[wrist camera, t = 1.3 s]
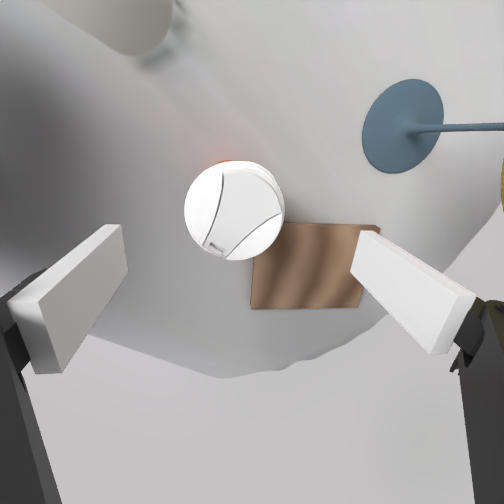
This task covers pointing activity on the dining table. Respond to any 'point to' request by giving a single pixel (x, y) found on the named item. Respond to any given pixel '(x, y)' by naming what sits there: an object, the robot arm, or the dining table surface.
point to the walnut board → (308, 268)
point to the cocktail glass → (409, 127)
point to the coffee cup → (234, 210)
